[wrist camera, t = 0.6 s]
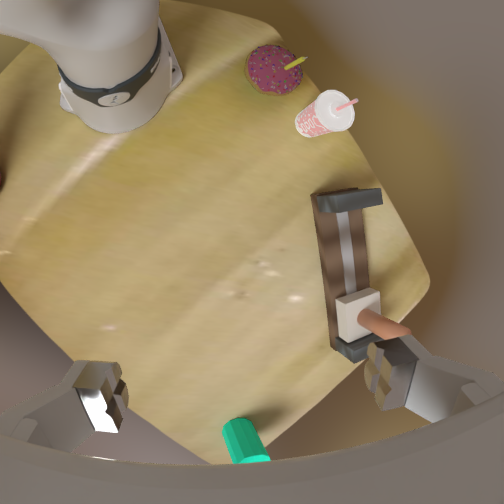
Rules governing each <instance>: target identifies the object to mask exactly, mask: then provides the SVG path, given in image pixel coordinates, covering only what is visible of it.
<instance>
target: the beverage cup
mask: <svg viewBox="0 0 504 504" xmlns="http://www.w3.org/2000/svg"><path fill="white" fill-rule="evenodd" d="M356 102H358V99H357V98H356V99H354V100H352V101H350V100H349V98H348V97H346V96H345V95H344V94H343V93H341V92H339V91H336V90H327V91H325V92H323V93H321V94H320V95H319V96H318V97H317V99H316V100H315V101H314V102H312V103H311V104H310V105H309V106H307V107H306V108H305V109H304V110H302V111H301V112H300V113H299V114H298V115H297V116H296V119H295V125H296V128H297V130H298V131H299V133H300V134H302V135H303V136H305V137H315V136H319V135H322V134H326V133H330V132H333V131H335V132H337V131H344V130H346V129H348V128H349V127H350V126H351V125H352V123H353V121H354V115H355V112H354V108H353V105H352V104H354V103H356Z"/></svg>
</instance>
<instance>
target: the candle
mask: <svg viewBox="0 0 504 504" xmlns="http://www.w3.org/2000/svg"><path fill="white" fill-rule="evenodd" d="M222 434H223V437H224V439H225V442H226V445H227V448H228V451H229V453H230V456H231V459H232V462H233V464H239V463H253V462H264V461H271V460H270V458H269V455H268V453H267V451H266V450H265V448H264V446H263V444H262V442H261V440H260V438H259V436H258V434H257V432H256V430H255V428H254V426H253V424H252V422H251V421H249V420H248V419H246V418H236V419H233V420H230V421H229V422H228V423H226V424H225V425H224V427H223V430H222Z"/></svg>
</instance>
